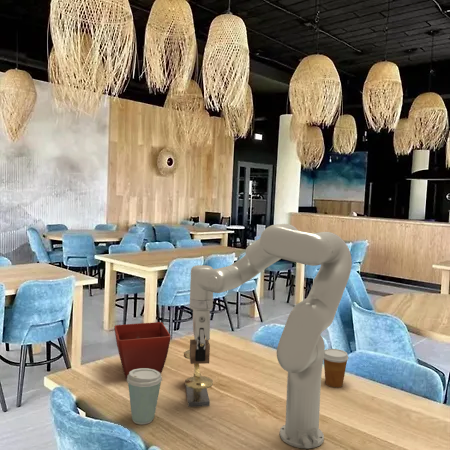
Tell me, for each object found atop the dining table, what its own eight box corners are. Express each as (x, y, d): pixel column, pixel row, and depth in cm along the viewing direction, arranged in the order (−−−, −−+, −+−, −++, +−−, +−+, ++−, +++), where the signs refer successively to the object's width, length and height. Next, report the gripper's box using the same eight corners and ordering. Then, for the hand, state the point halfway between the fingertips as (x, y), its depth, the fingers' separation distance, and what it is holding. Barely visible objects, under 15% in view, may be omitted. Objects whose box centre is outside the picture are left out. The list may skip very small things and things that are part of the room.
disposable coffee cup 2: (318, 385, 164) (319, 354, 164) (324, 376, 173) (326, 346, 172) (343, 391, 160) (345, 359, 159) (349, 382, 168) (351, 351, 168)
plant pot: (117, 385, 159) (118, 339, 158) (113, 366, 177) (114, 324, 176) (170, 380, 165) (171, 336, 164) (161, 362, 183) (162, 321, 182)
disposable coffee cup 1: (142, 408, 143) (143, 362, 142) (168, 417, 137) (169, 370, 136) (118, 421, 134) (119, 373, 133) (145, 432, 128) (146, 382, 127)
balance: (213, 409, 143) (214, 373, 143) (185, 410, 142) (186, 374, 141) (206, 380, 166) (207, 349, 165) (182, 381, 165) (183, 349, 164)
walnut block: (209, 363, 144) (209, 345, 143) (190, 363, 143) (191, 345, 142) (207, 356, 150) (207, 339, 149) (189, 357, 149) (190, 339, 148)
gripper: (215, 310, 137) (213, 367, 138) (209, 297, 154) (207, 348, 155) (191, 310, 136) (189, 367, 137) (188, 297, 153) (186, 348, 154)
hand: (199, 356), depth 146 cm, fingers closed on walnut block, 6 cm apart
